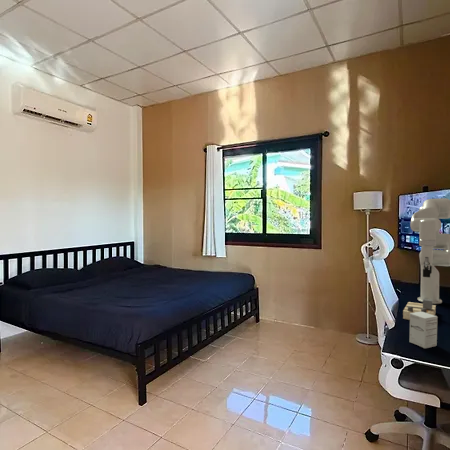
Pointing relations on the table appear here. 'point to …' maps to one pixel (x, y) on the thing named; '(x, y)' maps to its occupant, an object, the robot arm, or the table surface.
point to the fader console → (416, 309)
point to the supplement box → (423, 329)
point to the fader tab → (427, 304)
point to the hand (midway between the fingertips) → (427, 275)
